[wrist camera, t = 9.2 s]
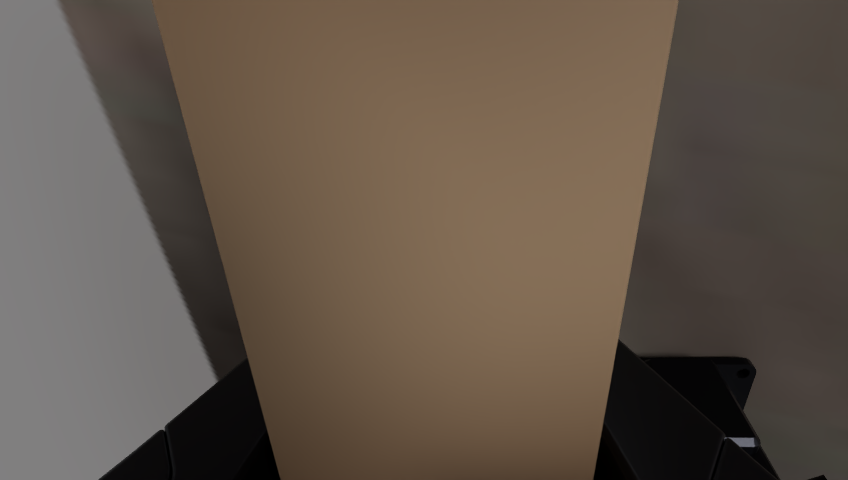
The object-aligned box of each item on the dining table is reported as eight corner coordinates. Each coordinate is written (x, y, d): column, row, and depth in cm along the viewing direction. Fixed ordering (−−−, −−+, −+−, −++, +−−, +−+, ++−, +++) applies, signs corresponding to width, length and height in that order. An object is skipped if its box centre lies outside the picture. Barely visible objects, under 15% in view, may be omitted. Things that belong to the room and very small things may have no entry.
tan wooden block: (507, 514, 13) (533, 814, 8) (397, 511, 13) (367, 805, 9) (555, -294, 6) (845, -932, 1) (313, -278, 6) (-61, -800, 2)
